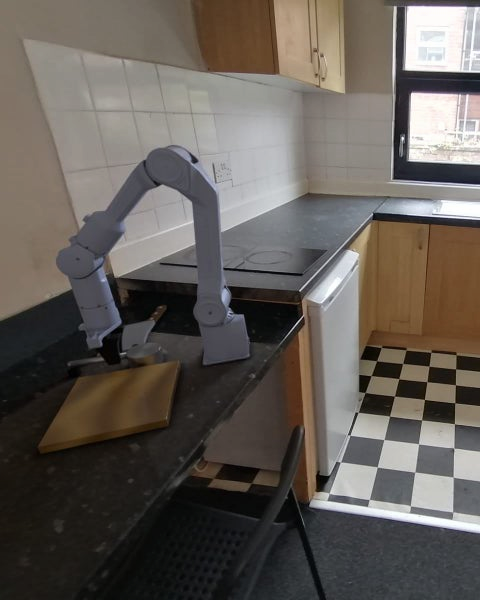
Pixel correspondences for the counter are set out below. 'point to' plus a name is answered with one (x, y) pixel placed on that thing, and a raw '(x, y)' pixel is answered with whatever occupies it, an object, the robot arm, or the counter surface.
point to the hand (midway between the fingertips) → (115, 361)
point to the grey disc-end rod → (135, 356)
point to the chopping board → (114, 406)
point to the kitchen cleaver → (140, 330)
